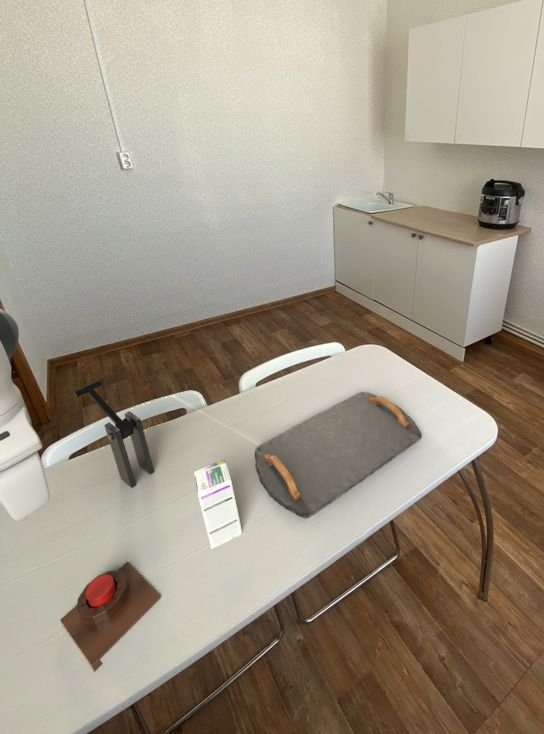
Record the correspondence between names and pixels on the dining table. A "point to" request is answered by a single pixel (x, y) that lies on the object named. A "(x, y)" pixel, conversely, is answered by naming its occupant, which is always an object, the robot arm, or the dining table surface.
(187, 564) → the dining table surface
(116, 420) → the lever
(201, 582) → the dining table surface
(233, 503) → the syrup box
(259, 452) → the serving tray
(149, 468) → the bracket
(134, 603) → the control block
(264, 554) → the dining table surface
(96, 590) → the button
